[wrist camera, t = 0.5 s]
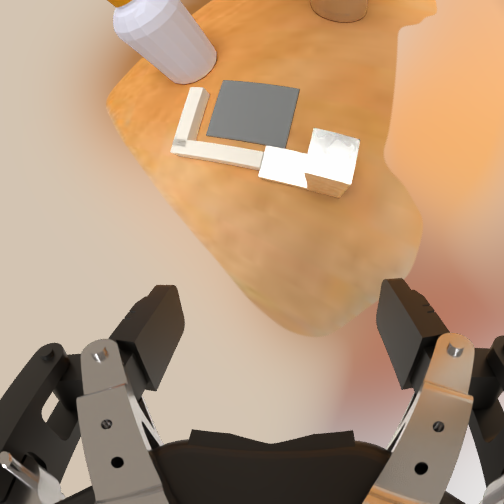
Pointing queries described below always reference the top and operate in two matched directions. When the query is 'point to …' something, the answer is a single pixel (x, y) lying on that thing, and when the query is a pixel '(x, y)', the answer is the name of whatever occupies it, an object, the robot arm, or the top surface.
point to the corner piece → (202, 150)
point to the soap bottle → (165, 37)
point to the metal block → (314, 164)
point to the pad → (253, 113)
